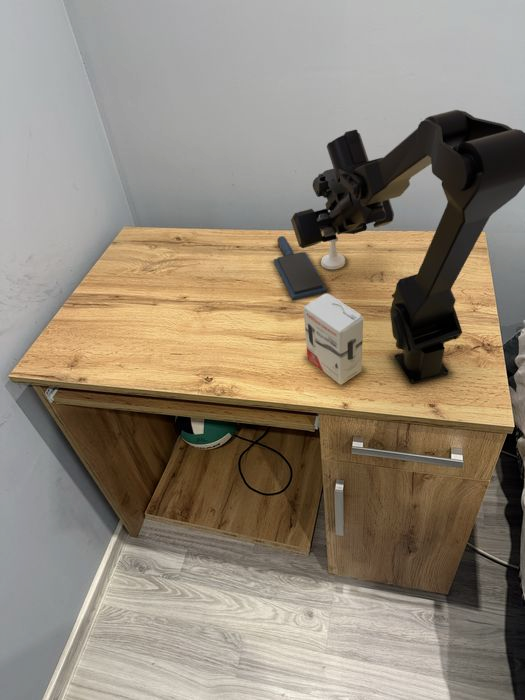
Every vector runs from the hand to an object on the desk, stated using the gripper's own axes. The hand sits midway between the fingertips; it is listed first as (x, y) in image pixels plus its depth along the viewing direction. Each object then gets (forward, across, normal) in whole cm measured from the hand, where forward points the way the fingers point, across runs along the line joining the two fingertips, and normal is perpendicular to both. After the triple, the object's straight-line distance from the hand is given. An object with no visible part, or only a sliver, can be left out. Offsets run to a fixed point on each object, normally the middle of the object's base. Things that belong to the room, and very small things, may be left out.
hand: (330, 231), depth 100 cm
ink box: (-15, +12, +25) cm, 32 cm away
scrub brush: (+5, +8, +4) cm, 10 cm away
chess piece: (+4, 0, +6) cm, 7 cm away
